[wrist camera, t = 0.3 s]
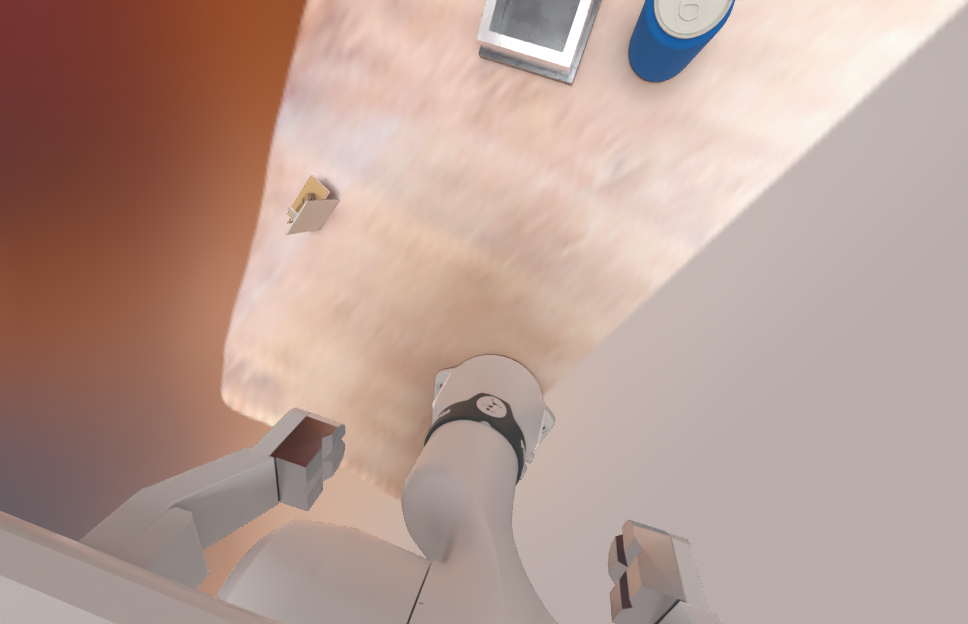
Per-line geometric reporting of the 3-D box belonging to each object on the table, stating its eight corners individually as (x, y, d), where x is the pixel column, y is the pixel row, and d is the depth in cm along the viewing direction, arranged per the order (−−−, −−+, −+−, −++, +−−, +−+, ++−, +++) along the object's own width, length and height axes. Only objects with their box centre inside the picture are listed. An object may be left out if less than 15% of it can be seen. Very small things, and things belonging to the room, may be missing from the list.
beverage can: (702, 11, 38) (756, -63, 27) (685, 85, 40) (728, 45, 29) (634, 11, 39) (659, -60, 28) (621, 82, 41) (639, 43, 30)
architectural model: (304, 213, 55) (265, 217, 48) (328, 176, 52) (290, 174, 45) (321, 230, 55) (285, 236, 48) (346, 193, 52) (312, 194, 46)
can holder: (571, 85, 42) (571, 74, 38) (480, 57, 43) (470, 43, 39) (613, -35, 38) (618, -62, 34) (511, -62, 39) (504, -92, 35)
